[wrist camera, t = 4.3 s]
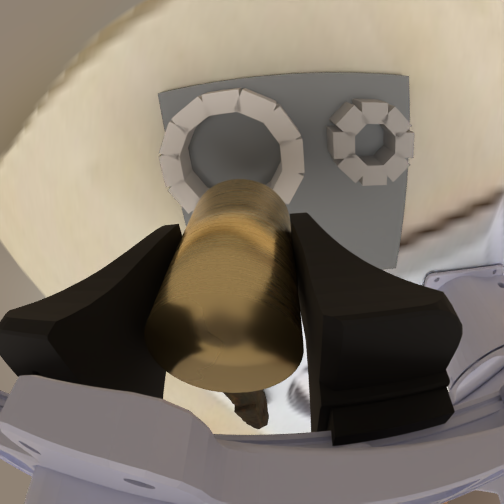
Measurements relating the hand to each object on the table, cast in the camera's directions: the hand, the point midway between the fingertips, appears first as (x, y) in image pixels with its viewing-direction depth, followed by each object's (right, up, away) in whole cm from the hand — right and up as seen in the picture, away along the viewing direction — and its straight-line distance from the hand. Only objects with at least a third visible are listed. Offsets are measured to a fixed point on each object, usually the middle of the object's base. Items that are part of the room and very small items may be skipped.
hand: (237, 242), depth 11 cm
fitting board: (+3, +4, +8) cm, 10 cm away
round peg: (0, +1, +1) cm, 2 cm away
